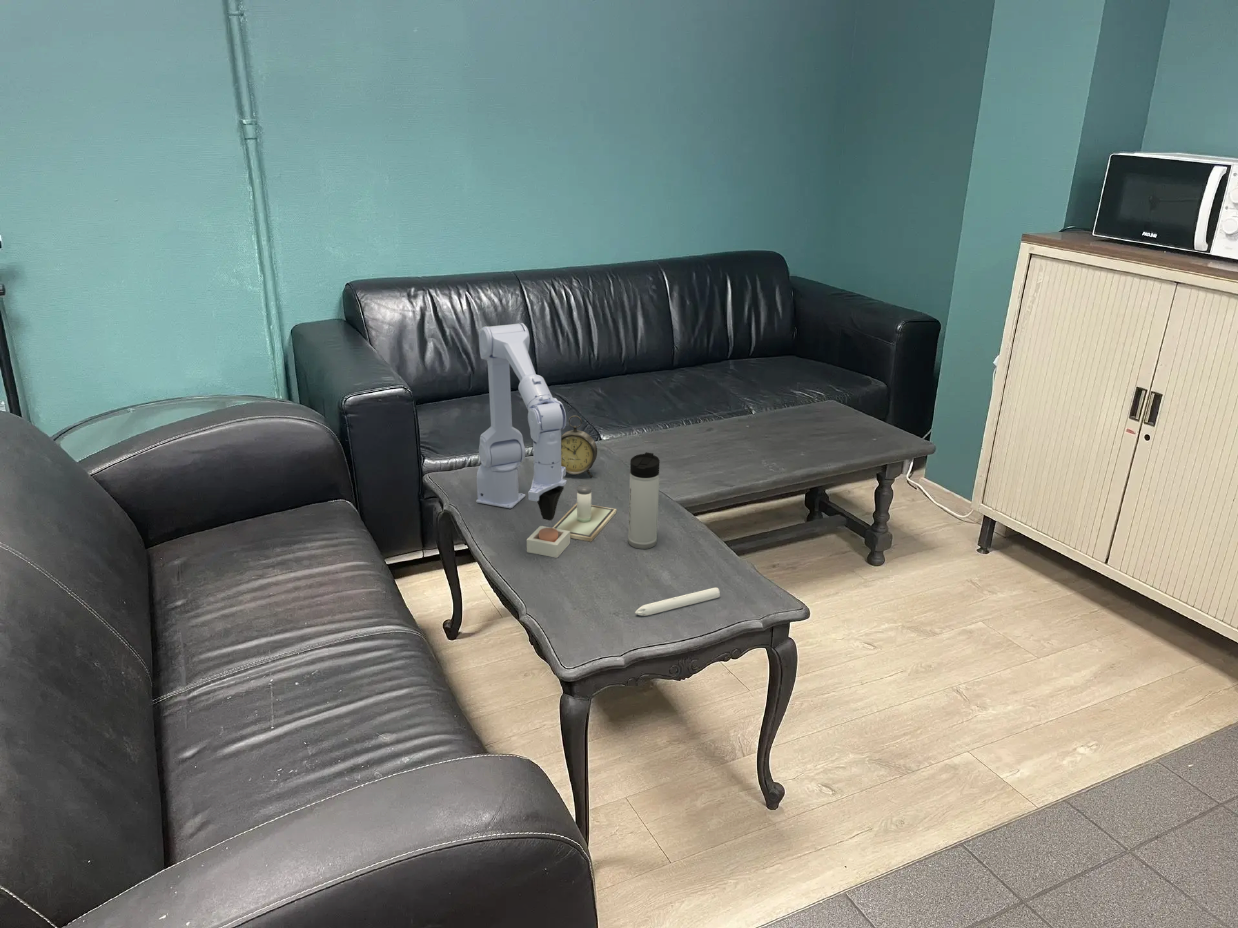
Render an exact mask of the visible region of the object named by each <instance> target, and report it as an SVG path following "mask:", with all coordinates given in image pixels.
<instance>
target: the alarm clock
mask: <svg viewBox="0 0 1238 928" xmlns="http://www.w3.org/2000/svg"><path fill="white" fill-rule="evenodd" d="M572 418H577V419H578V420H580V424H579V425H578V426H577V425H572V424H571V423H570V422H571V420H572ZM582 423H583V420H582V418H581V417H580V416H578V415H571V416H570V417H569V418H568V424H569V426H571V428H573V429H572V430H568V431H566V432H564V433H563V434H561V466H562V467H566V474H569V475H572V476H575V475H581V474H582V475H583V474H585V473H587V474H588V475H589V477H590V478H594V477H593V474H592V473H591V472H590V469H591V468H592V466H593V465H594V463H595V461H596V460H597V456H598V446H597V443H596V441H595V439H593V437H592V436H591V435H590V434H588V433H587V432H586V431H582V430H578V428H580V427H581V426H582Z"/></svg>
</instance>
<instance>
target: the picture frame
mask: <svg viewBox="0 0 1238 928" xmlns="http://www.w3.org/2000/svg"><path fill="white" fill-rule="evenodd" d="M617 511H618V510H617V508H613V507H605V506H600V505H593V504H591V521H590V522H586V523H582V522H579V521H578V520H577V502H576V503H575V504H574V505H573V506H572V507H571V508H570V509H569V510H568V511H567V512H566V513H565V514H564V515H563V517H561V518H560V520H559V521H557V522H556V523H555V524H554V526H552V528H555V529H561V530H566V531H570V539H575V540H580V541H585V542H592V541H594V539H595V538H596V537H597V536H598V535H599V533H600V532H601V531H602V530H603V529H604V528H605V527H606V525H607V524H608V523H609V522H610V520H612V519H613V517H614V516H615V515H616V513H617Z"/></svg>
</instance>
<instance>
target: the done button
mask: <svg viewBox="0 0 1238 928" xmlns="http://www.w3.org/2000/svg"><path fill="white" fill-rule="evenodd" d="M557 539H558V531H557V530H556V529H554V528H553V527H550V528H544V529H541V530H540V531H539V540H544V541H550V542H555V541H556V540H557Z"/></svg>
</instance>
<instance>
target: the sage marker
mask: <svg viewBox="0 0 1238 928" xmlns="http://www.w3.org/2000/svg"><path fill="white" fill-rule="evenodd" d="M576 488H577V489H576V503H577V520H578V521H579V522H582V523H586V522H590V521H591V505H592V485H589V484H579V485H578V486H577V487H576Z"/></svg>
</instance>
